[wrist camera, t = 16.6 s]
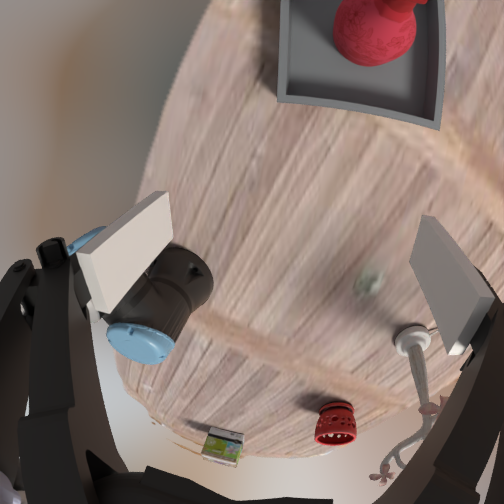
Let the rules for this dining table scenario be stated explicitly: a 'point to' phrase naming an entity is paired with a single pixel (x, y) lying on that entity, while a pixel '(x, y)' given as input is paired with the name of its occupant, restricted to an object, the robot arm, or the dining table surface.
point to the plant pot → (336, 424)
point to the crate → (361, 77)
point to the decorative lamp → (413, 346)
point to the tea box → (223, 447)
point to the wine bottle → (374, 30)
